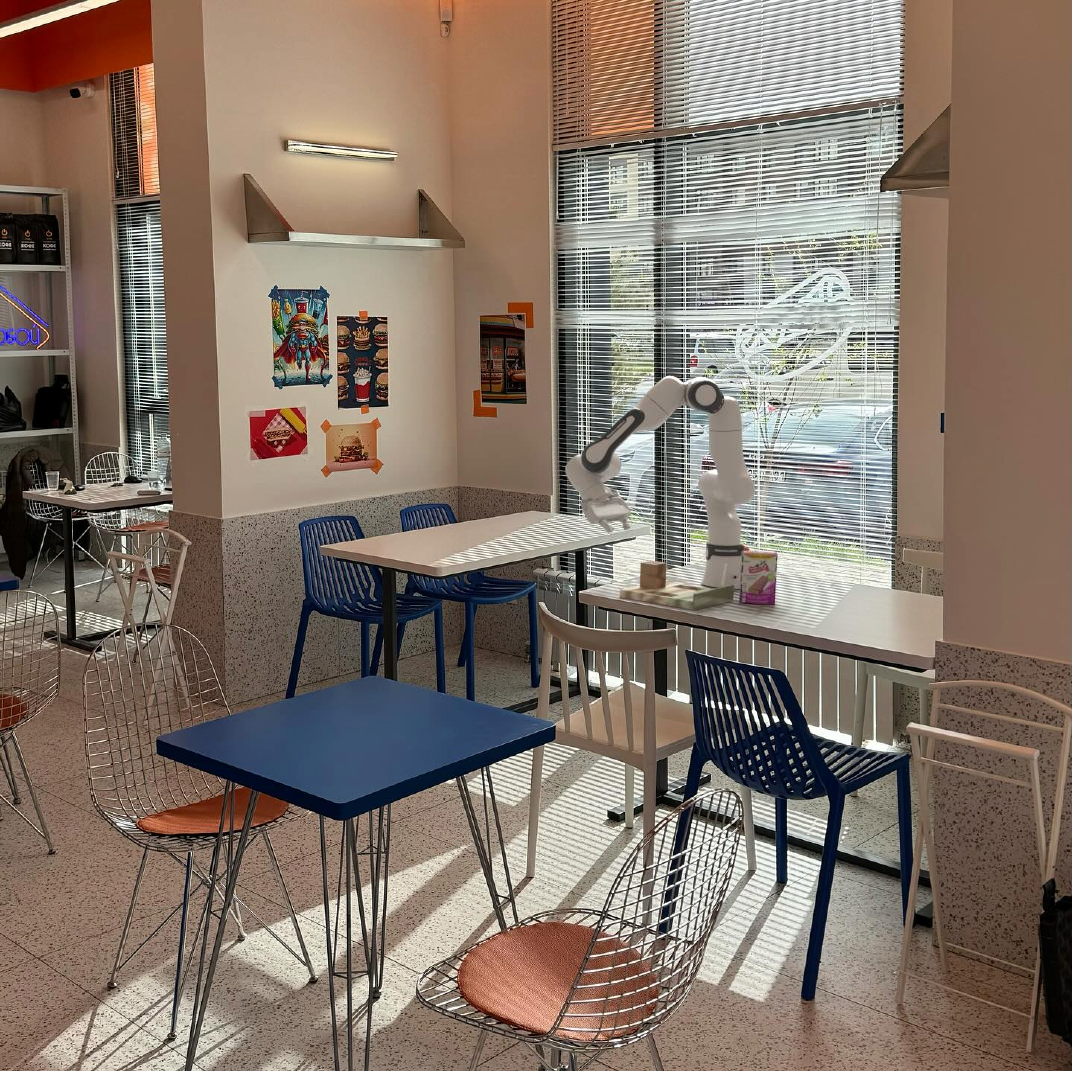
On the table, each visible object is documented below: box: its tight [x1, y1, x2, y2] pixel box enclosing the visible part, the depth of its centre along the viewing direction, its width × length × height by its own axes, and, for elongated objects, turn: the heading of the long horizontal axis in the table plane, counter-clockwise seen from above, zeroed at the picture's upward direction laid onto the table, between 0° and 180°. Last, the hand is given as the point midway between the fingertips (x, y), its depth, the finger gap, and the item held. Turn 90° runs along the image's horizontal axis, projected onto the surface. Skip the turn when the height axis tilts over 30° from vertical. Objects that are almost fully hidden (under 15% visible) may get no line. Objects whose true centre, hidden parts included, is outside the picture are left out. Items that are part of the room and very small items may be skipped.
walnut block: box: [639, 560, 667, 589], centre depth 406 cm, size 6×6×8 cm
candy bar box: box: [738, 550, 779, 606], centre depth 394 cm, size 11×5×16 cm, turn 84°
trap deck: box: [619, 581, 735, 611], centre depth 400 cm, size 29×22×5 cm
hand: (619, 530), depth 413 cm, fingers open, 8 cm apart
